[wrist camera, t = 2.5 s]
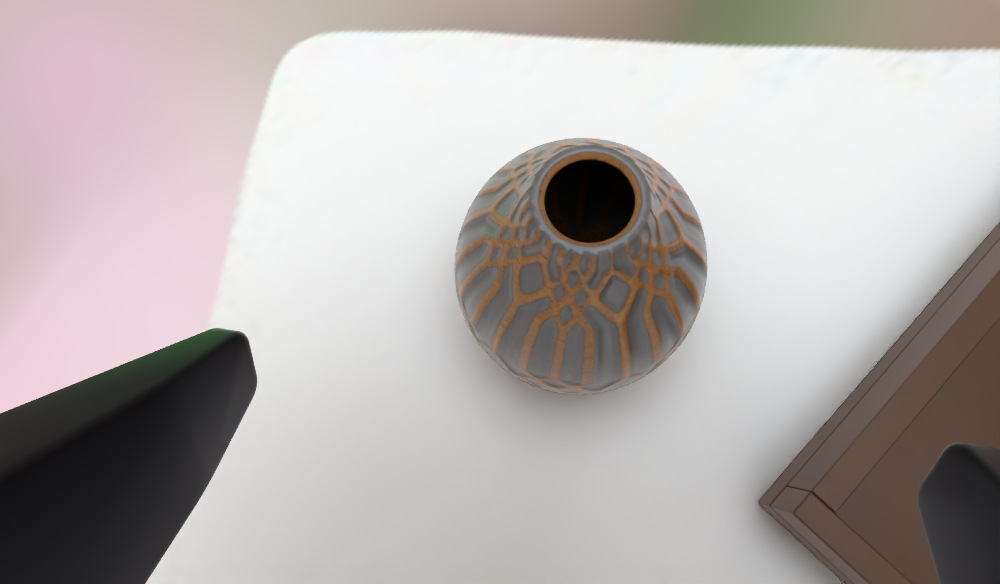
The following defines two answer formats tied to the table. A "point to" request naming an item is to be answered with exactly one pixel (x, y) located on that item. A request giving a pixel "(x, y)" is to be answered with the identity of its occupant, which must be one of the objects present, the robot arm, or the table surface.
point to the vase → (581, 266)
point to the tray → (900, 435)
